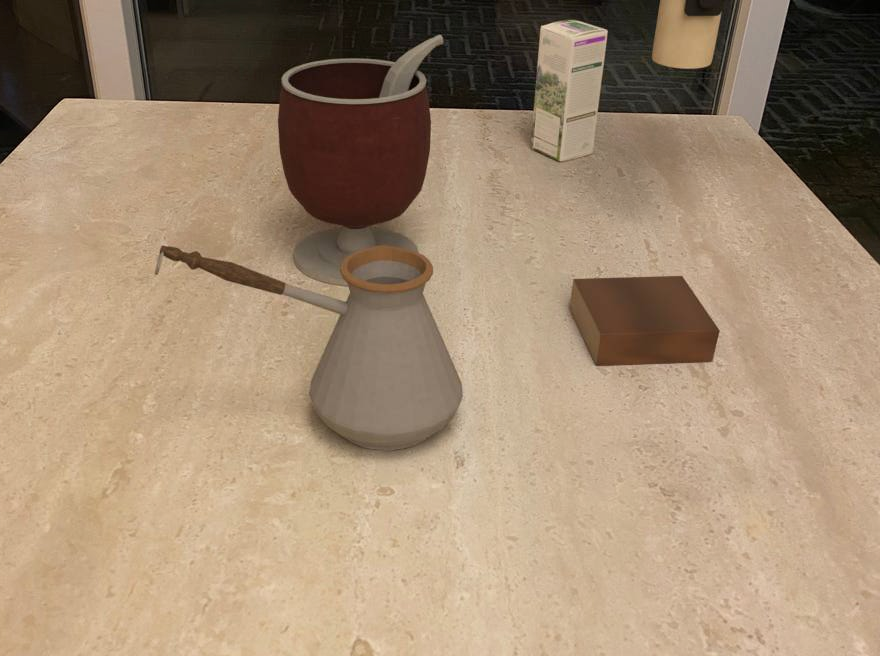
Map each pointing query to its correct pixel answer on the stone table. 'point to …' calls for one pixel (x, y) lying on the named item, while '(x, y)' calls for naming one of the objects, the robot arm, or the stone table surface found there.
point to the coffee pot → (370, 347)
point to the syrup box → (568, 89)
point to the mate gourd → (354, 151)
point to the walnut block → (642, 320)
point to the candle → (684, 37)
